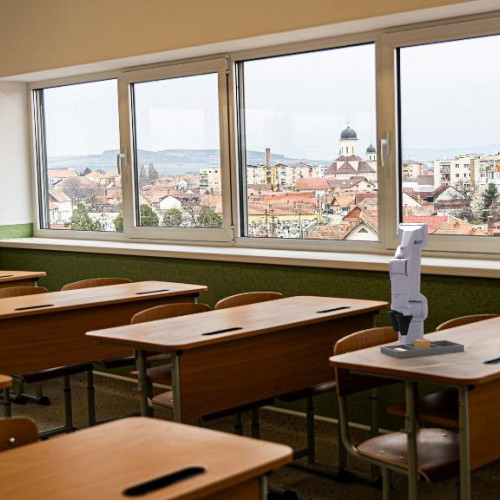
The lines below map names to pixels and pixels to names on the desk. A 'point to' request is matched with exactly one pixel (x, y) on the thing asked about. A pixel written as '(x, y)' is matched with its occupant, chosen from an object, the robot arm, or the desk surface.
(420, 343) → the letter cube
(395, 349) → the eraser
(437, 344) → the organizer
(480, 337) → the desk surface
